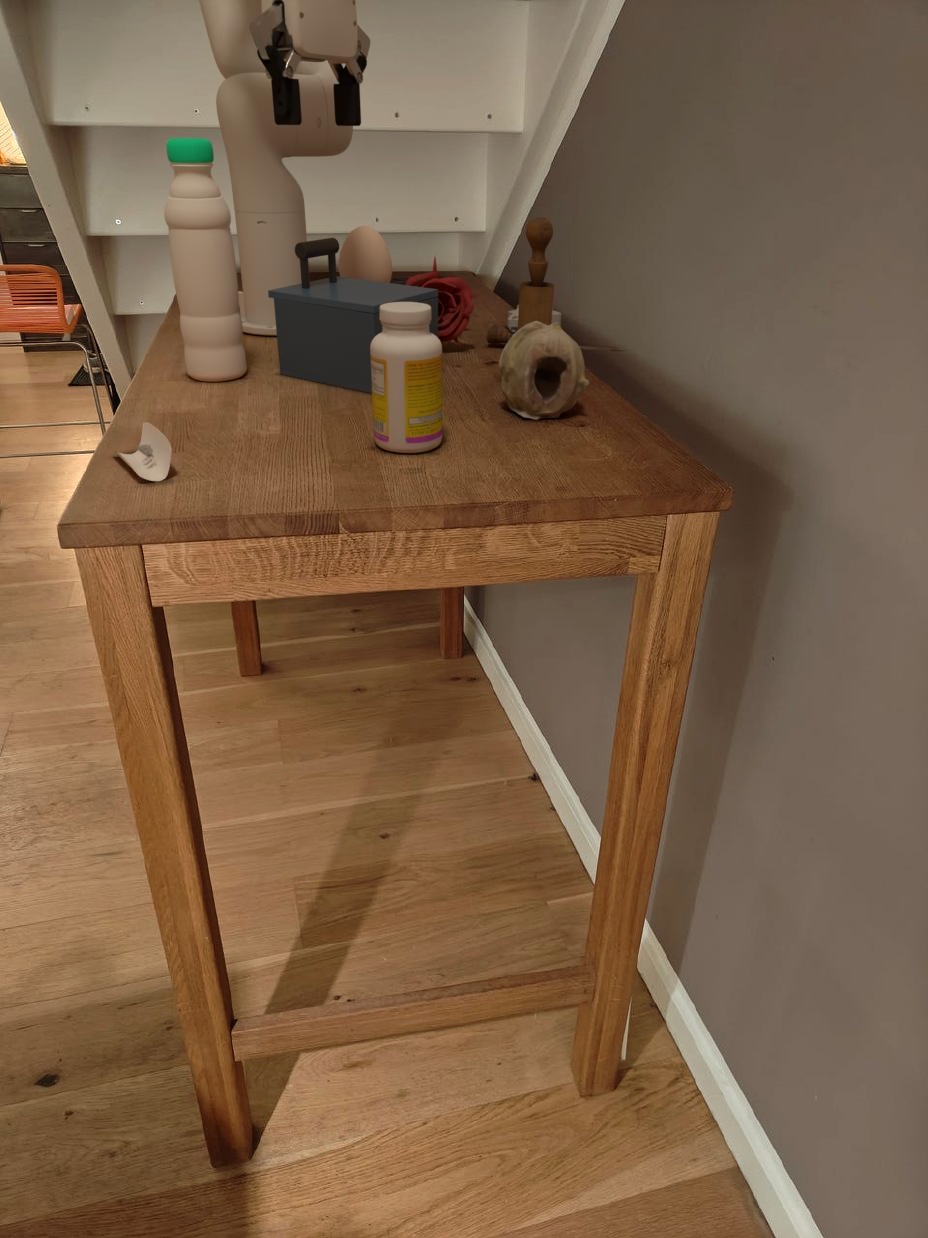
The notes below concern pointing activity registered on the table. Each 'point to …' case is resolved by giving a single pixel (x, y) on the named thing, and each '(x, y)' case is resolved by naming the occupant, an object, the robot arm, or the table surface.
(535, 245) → the mortar and pestle
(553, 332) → the cream hollow lumpy ball
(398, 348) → the supplement bottle
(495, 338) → the machete
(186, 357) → the water bottle
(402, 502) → the table surface
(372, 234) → the egg
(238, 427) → the table surface
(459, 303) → the flower
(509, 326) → the zipper pull
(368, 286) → the lid
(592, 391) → the table surface
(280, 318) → the chest
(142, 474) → the white curved plate
